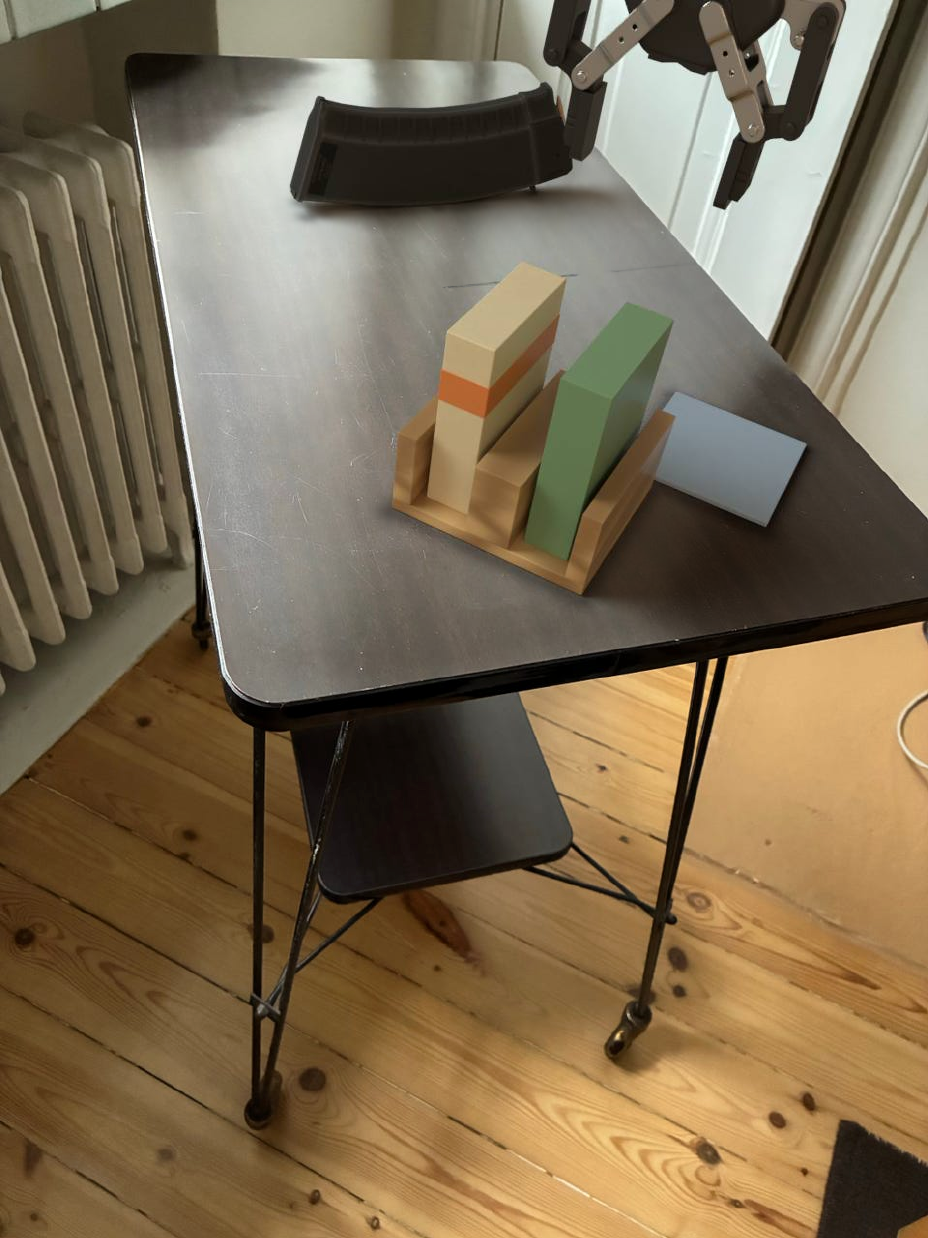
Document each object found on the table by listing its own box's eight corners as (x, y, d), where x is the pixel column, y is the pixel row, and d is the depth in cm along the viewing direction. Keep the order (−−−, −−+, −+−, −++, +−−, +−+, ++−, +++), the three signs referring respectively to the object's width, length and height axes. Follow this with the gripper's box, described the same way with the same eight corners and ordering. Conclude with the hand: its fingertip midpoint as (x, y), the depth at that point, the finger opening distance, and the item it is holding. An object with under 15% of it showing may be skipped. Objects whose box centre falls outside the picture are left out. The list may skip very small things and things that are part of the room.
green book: (624, 478, 76) (674, 319, 66) (566, 561, 70) (612, 399, 59) (583, 460, 77) (626, 301, 67) (522, 541, 70) (560, 377, 60)
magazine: (270, 123, 92) (564, 18, 94) (262, 108, 93) (550, 6, 96) (320, 279, 105) (576, 184, 108) (312, 263, 107) (563, 170, 110)
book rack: (651, 487, 78) (676, 415, 72) (580, 595, 69) (603, 523, 64) (479, 413, 81) (490, 339, 76) (391, 507, 73) (397, 432, 67)
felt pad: (805, 447, 84) (807, 443, 83) (765, 527, 76) (767, 523, 76) (674, 394, 86) (676, 390, 86) (624, 467, 79) (625, 463, 79)
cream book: (533, 438, 78) (568, 277, 68) (468, 516, 71) (495, 351, 61) (493, 421, 79) (521, 260, 69) (425, 497, 72) (445, 330, 62)
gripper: (566, -216, 42) (508, 164, 54) (893, -136, 39) (755, 247, 51) (625, -233, 47) (560, 120, 59) (922, -163, 44) (788, 194, 56)
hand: (650, 179), depth 55 cm, fingers open, 8 cm apart
